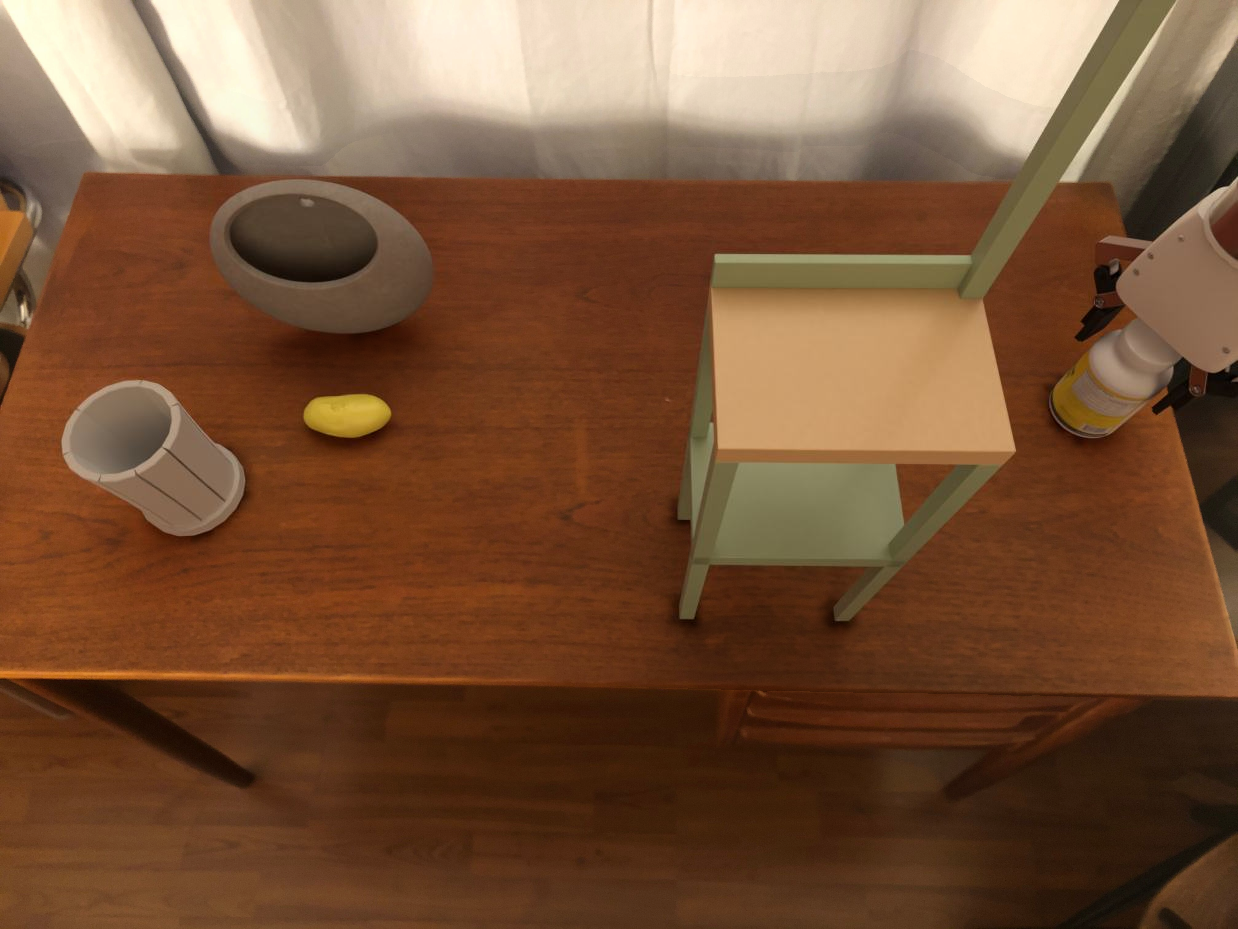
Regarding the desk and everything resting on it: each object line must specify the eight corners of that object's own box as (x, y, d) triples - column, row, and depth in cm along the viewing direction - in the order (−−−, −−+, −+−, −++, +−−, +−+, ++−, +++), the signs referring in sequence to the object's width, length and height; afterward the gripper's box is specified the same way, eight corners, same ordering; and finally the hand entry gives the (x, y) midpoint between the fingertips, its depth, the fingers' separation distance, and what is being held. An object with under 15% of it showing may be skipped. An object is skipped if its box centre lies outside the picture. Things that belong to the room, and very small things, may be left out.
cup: (111, 508, 71) (17, 447, 60) (175, 425, 74) (98, 354, 64) (207, 553, 69) (129, 499, 58) (268, 466, 72) (205, 400, 62)
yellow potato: (316, 403, 75) (300, 382, 72) (399, 407, 75) (388, 385, 71) (306, 443, 73) (290, 423, 70) (392, 446, 73) (380, 426, 70)
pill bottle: (1102, 377, 76) (1178, 301, 65) (1129, 437, 73) (1213, 368, 62) (1035, 384, 75) (1101, 310, 65) (1060, 445, 73) (1132, 377, 62)
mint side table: (849, 621, 66) (1528, -65, 16) (679, 619, 66) (832, -64, 16) (836, 509, 70) (1343, -306, 20) (677, 507, 70) (794, -303, 21)
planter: (260, 362, 77) (156, 226, 60) (269, 302, 80) (173, 158, 63) (451, 350, 78) (401, 212, 61) (453, 291, 81) (406, 144, 64)
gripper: (1437, 288, 49) (1239, 423, 65) (1210, 118, 56) (1081, 279, 71) (1358, 343, 48) (1176, 468, 63) (1134, 161, 54) (1019, 316, 70)
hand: (1126, 367), depth 67 cm, fingers open, 7 cm apart
